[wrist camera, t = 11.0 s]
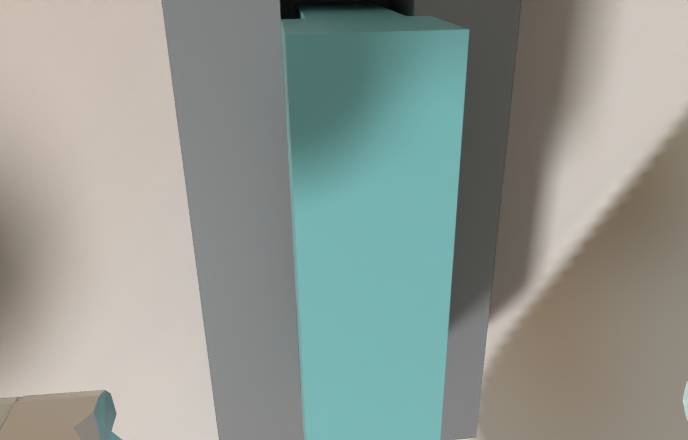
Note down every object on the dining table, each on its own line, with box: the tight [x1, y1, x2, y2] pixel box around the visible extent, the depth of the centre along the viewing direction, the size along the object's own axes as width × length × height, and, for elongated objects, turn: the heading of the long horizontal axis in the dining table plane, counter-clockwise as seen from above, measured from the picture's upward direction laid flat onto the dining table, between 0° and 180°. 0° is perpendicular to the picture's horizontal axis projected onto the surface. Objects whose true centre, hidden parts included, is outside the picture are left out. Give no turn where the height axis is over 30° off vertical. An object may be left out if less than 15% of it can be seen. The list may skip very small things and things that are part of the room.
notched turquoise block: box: [281, 1, 469, 440], centre depth 15 cm, size 10×3×7 cm, turn 1°
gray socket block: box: [162, 0, 521, 440], centre depth 17 cm, size 16×8×4 cm, turn 1°
